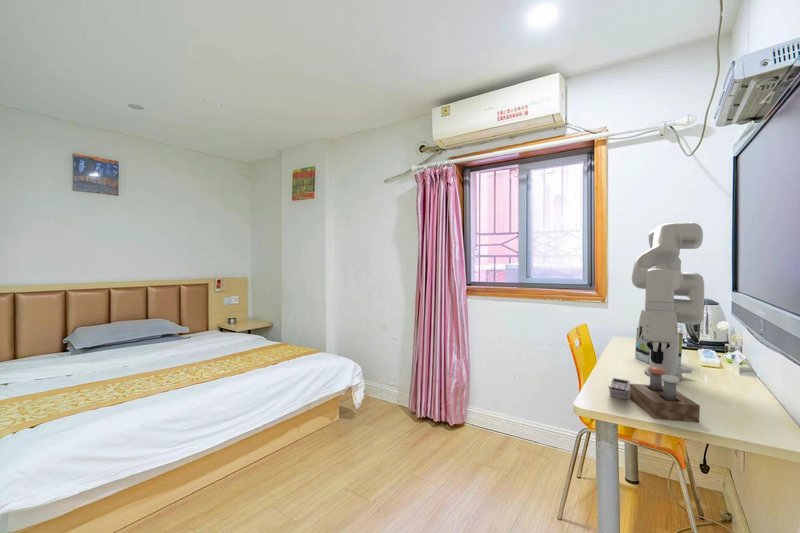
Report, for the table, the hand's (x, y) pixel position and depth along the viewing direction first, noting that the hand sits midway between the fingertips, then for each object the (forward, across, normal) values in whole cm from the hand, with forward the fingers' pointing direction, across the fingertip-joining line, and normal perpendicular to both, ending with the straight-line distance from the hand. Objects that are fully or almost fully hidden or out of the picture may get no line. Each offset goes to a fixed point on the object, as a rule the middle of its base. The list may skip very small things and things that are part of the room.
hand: (656, 362), depth 119 cm
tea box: (+13, -28, -57) cm, 64 cm away
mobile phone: (+14, +7, -9) cm, 18 cm away
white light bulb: (+9, 0, +8) cm, 12 cm away
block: (+14, 0, +3) cm, 14 cm away
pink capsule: (+9, 0, 0) cm, 9 cm away
